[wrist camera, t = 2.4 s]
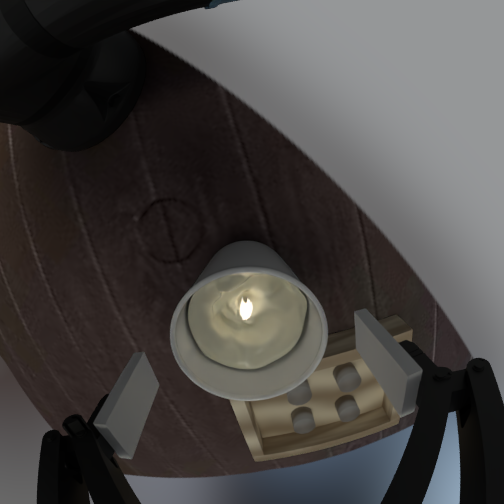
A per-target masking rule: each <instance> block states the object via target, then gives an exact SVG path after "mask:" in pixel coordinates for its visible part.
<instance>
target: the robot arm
mask: <svg viewBox="0 0 504 504" xmlns="http://www.w3.org/2000/svg"><path fill="white" fill-rule="evenodd" d="M233 1H238V0H0V122H1V123H7V124H13V125H19V126H21V127H22V128H23V129H25V130H26V131H28V132H29V133H31V134H32V135H33V136H34V137H35V138H36V140H38V141H39V142H40V143H41V144H43V145H44V146H46V147H48V148H51V149H54V150H61V151H70V152H72V151H80V150H84V149H87V148H89V147H92V146H94V145H96V144H98V143H99V142H101V141H102V140H104V139H105V138H107V137H108V136H109V135H110V134H111V133H113V132H114V131H115V130H116V129H117V128H118V127H119V126H120V125H121V123H122V122H123V121H124V120H125V119H126V117H127V116H128V115H129V113H130V112H131V110H132V109H133V107H134V105H135V103H136V101H137V100H138V97H139V95H140V93H141V90H142V87H143V84H144V79H145V73H146V62H145V56H144V53H143V50H142V48H141V47H140V45H139V44H138V43H137V41H136V40H135V39H134V37H133V36H132V35H131V34H130V33H129V32H127V31H126V30H128V29H130V28H133V27H136V26H139V25H141V24H144V23H147V22H150V21H153V20H156V19H159V18H163V17H166V16H170V15H173V14H177V13H180V12H185V11H188V10H193V9H197V8H202V7H204V8H205V9H211V8H215V7H217V6H218V5H219V4H222V3H227V2H233ZM354 318H355V337H356V350H357V351H358V353H359V354H360V356H361V357H362V359H363V360H364V362H365V363H366V365H367V366H368V368H369V369H370V371H371V372H372V374H373V375H374V377H375V378H376V380H377V382H378V383H379V385H380V386H381V388H382V389H383V391H384V392H385V394H386V396H387V397H388V399H389V400H390V402H391V403H392V405H393V407H394V408H395V410H396V411H397V413H398V415H399V416H400V418H401V417H403V416H405V415H407V414H410V413H412V412H414V410H415V405H416V404H417V406H418V407H419V410H418V413H417V417H416V420H415V423H414V426H413V429H412V432H411V435H410V438H409V441H408V443H407V446H406V449H405V451H404V454H403V456H402V459H401V461H400V464H399V466H398V468H397V471H396V473H395V475H394V478H393V480H392V482H391V484H390V486H389V488H388V490H387V492H386V494H385V496H384V498H383V500H382V502H381V504H422V502H423V499H424V497H425V494H426V492H427V489H428V486H429V483H430V481H431V478H432V474H433V472H434V469H435V465H436V462H437V459H438V455H439V452H440V448H441V444H442V440H443V436H444V432H445V427H446V422H447V417H448V413H449V412H454V411H456V416H457V425H458V434H459V448H460V477H461V478H460V504H504V404H503V401H502V397H501V394H500V391H499V388H498V385H497V382H496V379H495V376H494V373H493V370H492V368H491V365H490V363H489V362H488V361H487V360H485V359H482V358H475V359H472V360H471V361H469V362H468V364H467V367H466V369H463V370H459V371H454V372H452V371H451V370H450V369H448V368H446V367H437V366H436V365H435V364H434V363H433V362H432V361H431V360H430V359H429V358H428V357H427V356H426V354H425V353H423V351H422V350H421V349H419V347H418V346H417V345H416V344H415V343H413V342H410V341H408V340H404V341H402V342H399V343H398V342H397V341H396V340H395V339H394V338H393V337H392V336H391V335H390V334H389V332H388V331H387V330H386V329H385V328H384V327H383V326H382V325H381V324H380V323H379V322H378V321H377V320H376V319H375V318H374V317H373V316H372V315H371V314H370V313H369V312H368V310H367V309H366V308H365V309H362V310H358V311H355V312H354ZM158 387H159V383H158V381H157V379H156V377H155V375H154V372H153V370H152V368H151V366H150V364H149V362H148V359H147V357H146V355H145V353H144V352H139V353H134V354H133V356H132V357H131V359H130V360H129V362H128V364H127V365H126V367H125V369H124V370H123V372H122V374H121V375H120V377H119V379H118V381H117V382H116V384H115V386H114V387H113V389H112V391H111V392H110V394H106V395H105V396H104V397H103V398H102V399H101V400H100V402H99V403H98V405H97V407H96V408H95V411H94V412H93V413H92V415H91V417H90V419H89V420H88V422H87V423H86V422H85V421H84V419H83V418H82V416H81V415H78V414H74V415H71V416H69V417H67V418H66V419H65V420H64V422H63V424H62V427H63V428H64V429H65V431H66V432H67V433H68V436H62V435H61V434H60V432H59V431H57V430H50V431H48V432H47V433H45V435H44V436H43V439H42V445H41V452H40V460H39V470H38V483H37V504H90V500H89V493H90V495H91V498H92V500H93V502H94V504H141V503H140V501H139V500H138V498H137V497H136V495H135V493H134V492H133V490H132V488H131V487H130V485H129V483H128V482H127V480H126V478H125V476H124V474H123V473H122V471H121V469H120V467H119V465H118V463H117V461H116V460H115V458H114V457H113V454H114V451H115V452H116V453H117V455H118V456H119V457H120V458H128V459H132V458H133V455H134V452H135V449H136V446H137V444H138V441H139V438H140V435H141V433H142V430H143V427H144V424H145V422H146V419H147V416H148V414H149V411H150V408H151V406H152V403H153V400H154V398H155V395H156V393H157V390H158Z"/></svg>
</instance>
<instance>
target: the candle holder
mask: <svg viewBox="0 0 504 504" xmlns="http://www.w3.org/2000/svg"><path fill="white" fill-rule="evenodd" d="M327 341H328V325H327V320H326V316H325V313H324V310H323V308H322V306H321V304H320V302H319V301H318V299H317V298H316V296H315V295H314V294H313V293H312V292H311V291H310V290H309V289H308V288H307V287H306V286H305V285H304V284H303V283H302V281H301V280H300V279H299V278H298V277H297V275H296V274H295V273H294V272H293V270H292V269H291V268H290V267H289V266H288V264H287V263H286V262H285V261H284V260H283V259H282V257H281V256H280V255H279V254H278V253H277V252H276V251H274V250H273V249H272V248H270V247H269V246H267V245H265V244H263V243H260V242H256V241H238V242H234V243H231V244H228V245H226V246H225V247H223V248H221V249H220V250H219V251H218V252H217V253H216V254H215V255H214V256H213V257H212V258H211V259H210V261H209V262H208V263H207V265H206V266H205V268H204V269H203V271H202V272H201V273H200V275H199V276H198V278H197V279H196V281H195V282H194V284H193V285H192V286H191V288H190V289H189V290H188V292H187V293H186V294H185V295H184V296H183V297H182V299H181V300H180V302H179V303H178V305H177V307H176V309H175V311H174V314H173V317H172V320H171V326H170V343H171V348H172V351H173V354H174V357H175V359H176V361H177V363H178V365H179V366H180V368H181V369H182V371H183V372H184V373H185V374H186V375H187V376H188V378H189V379H191V380H192V381H193V382H194V383H195V384H197V385H198V386H199V387H201V388H202V389H204V390H206V391H208V392H210V393H212V394H214V395H217V396H220V397H223V398H227V399H231V400H238V401H258V400H265V399H270V398H273V397H277V396H280V395H282V394H284V393H287V392H289V391H291V390H292V389H294V388H296V387H297V386H299V385H300V384H301V383H303V382H304V381H305V380H306V379H307V378H308V377H309V376H310V375H311V374H312V373H313V372H314V371H315V369H316V368H317V366H318V365H319V363H320V361H321V360H322V358H323V355H324V353H325V350H326V346H327Z"/></svg>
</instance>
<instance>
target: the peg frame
mask: <svg viewBox="0 0 504 504" xmlns="http://www.w3.org/2000/svg"><path fill="white" fill-rule="evenodd" d="M378 322H379V323H380V324H381V325H382V326H383V327H384V328H385V329H386V330H387V331H388V332H389V334H390V335H391V336H392V337H393V338H394V339H395V340H396V341H397V342H398V343H399V342H402V341H404V340H408V341H410V342H412V330H413V329H411V328H410V327H409V326H408V325H407V324H406V323H405V322H404V321H403V320H402V319H401V318H400V317H399V316H397V315H393V316H390V317H387V318H384V319H381V320H378ZM230 402H231V405H232V407H233V410H234V412H235V415H236V417H237V420H238V422H239V425H240V427H241V430H242V432H243V435H244V437H245V439H246V442H247V444H248V446H249V449H250V451H251V453H252V456H253V458H254V460H255V462H257V461H265V460H271V459H277V458H283V457H289V456H294V455H299V454H303V453H308V452H312V451H316V450H320V449H324V448H328V447H332V446H335V445H339V444H342V443H346V442H349V441H352V440H355V439H358V438H361V437H364V436H367V435H370V434H373V433H375V432H378V431H381V430H383V429H386V428H388V427H391V426H393V425H396V424H398V423H399V418H400V416H399V415H398V413H397V411H396V410H395V408H394V407H393V405H392V403H391V402H390V400H389V399H388V397H387V396H386V394H385V392H384V391H383V389H382V388H381V386H380V385H379V383H378V382H377V380H376V378H375V377H374V375H373V374H372V372H371V371H370V369H369V368H368V366H367V365H366V363H365V362H364V360H363V359H362V357H361V356H360V354H359V353H358V351H357V350H356V337H355V328H352V329H348V330H345V331H341V332H337V333H334V334H330V335H328V341H327V346H326V350H325V353H324V355H323V358H322V360H321V361H320V363H319V365H318V366H317V368H316V369H315V371H314V372H313V373H312V374H311V375H310V376H309V377H308V378H307V379H306V380H305V381H304V382H303V383H301V384H300V385H299V386H297V387H296V388H294V389H292V390H291V391H289V392H287V393H284V394H282V395H280V396H277V397H273V398H270V399H265V400H258V401H238V400H231V399H230Z"/></svg>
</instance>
